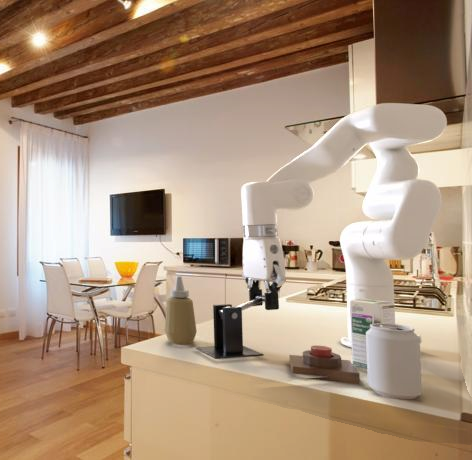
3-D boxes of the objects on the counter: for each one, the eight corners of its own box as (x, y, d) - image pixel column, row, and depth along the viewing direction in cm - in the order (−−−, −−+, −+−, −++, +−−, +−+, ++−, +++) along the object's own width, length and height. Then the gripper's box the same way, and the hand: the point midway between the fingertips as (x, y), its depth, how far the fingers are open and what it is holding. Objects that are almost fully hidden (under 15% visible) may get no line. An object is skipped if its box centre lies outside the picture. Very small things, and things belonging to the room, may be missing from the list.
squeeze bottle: (159, 345, 109) (158, 277, 109) (172, 339, 115) (171, 274, 115) (189, 350, 104) (187, 278, 104) (201, 343, 110) (199, 276, 110)
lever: (260, 300, 103) (257, 291, 103) (274, 303, 98) (270, 294, 98) (218, 318, 101) (215, 309, 101) (230, 322, 96) (226, 312, 96)
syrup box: (350, 368, 88) (348, 299, 88) (367, 364, 90) (365, 297, 90) (380, 376, 82) (378, 303, 83) (398, 372, 85) (395, 301, 85)
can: (433, 402, 69) (430, 330, 69) (382, 400, 71) (379, 329, 71) (404, 386, 76) (402, 321, 77) (359, 384, 78) (357, 321, 78)
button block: (350, 370, 86) (349, 351, 86) (360, 385, 78) (359, 363, 78) (289, 364, 91) (288, 346, 91) (292, 377, 83) (292, 357, 83)
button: (330, 354, 85) (330, 346, 85) (333, 359, 82) (333, 350, 82) (310, 353, 87) (309, 344, 87) (312, 357, 84) (311, 348, 84)
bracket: (240, 349, 104) (238, 302, 104) (263, 359, 95) (262, 308, 95) (195, 352, 102) (194, 304, 102) (215, 362, 93) (214, 310, 93)
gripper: (299, 231, 93) (304, 312, 92) (252, 232, 110) (255, 301, 109) (269, 232, 92) (273, 314, 91) (226, 234, 108) (229, 303, 108)
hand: (263, 306), depth 100 cm, fingers closed on lever, 5 cm apart
